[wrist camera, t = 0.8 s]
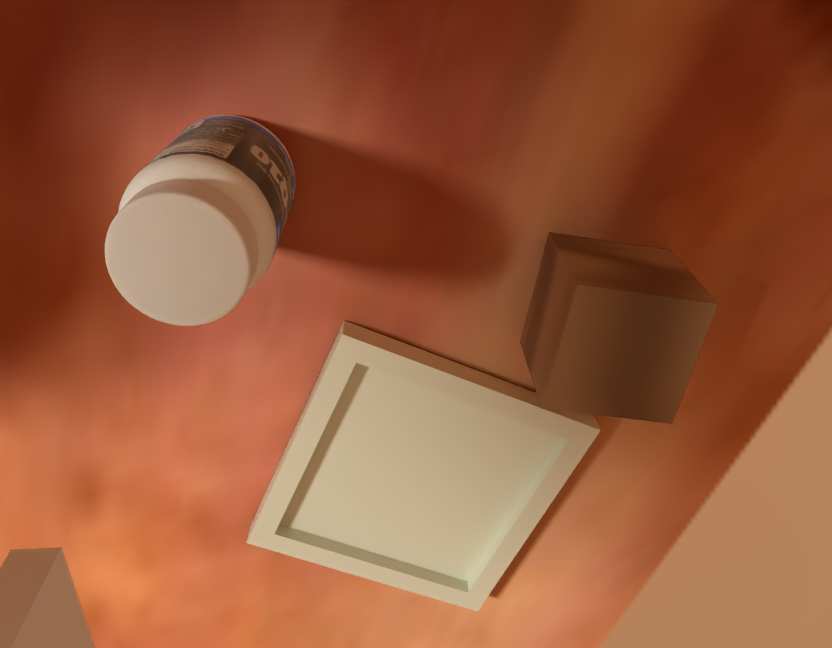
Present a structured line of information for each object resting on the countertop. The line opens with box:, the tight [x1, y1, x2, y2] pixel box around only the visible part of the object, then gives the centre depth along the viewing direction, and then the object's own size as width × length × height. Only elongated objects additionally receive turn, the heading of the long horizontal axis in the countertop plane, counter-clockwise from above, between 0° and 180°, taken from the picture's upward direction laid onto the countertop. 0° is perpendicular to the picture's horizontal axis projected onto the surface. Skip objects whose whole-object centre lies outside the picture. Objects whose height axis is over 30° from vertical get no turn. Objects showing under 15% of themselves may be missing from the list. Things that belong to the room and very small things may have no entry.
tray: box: [247, 321, 601, 612], centre depth 34 cm, size 12×12×1 cm
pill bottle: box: [105, 115, 296, 326], centre depth 24 cm, size 5×5×8 cm
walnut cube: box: [520, 232, 718, 424], centre depth 29 cm, size 5×5×5 cm
